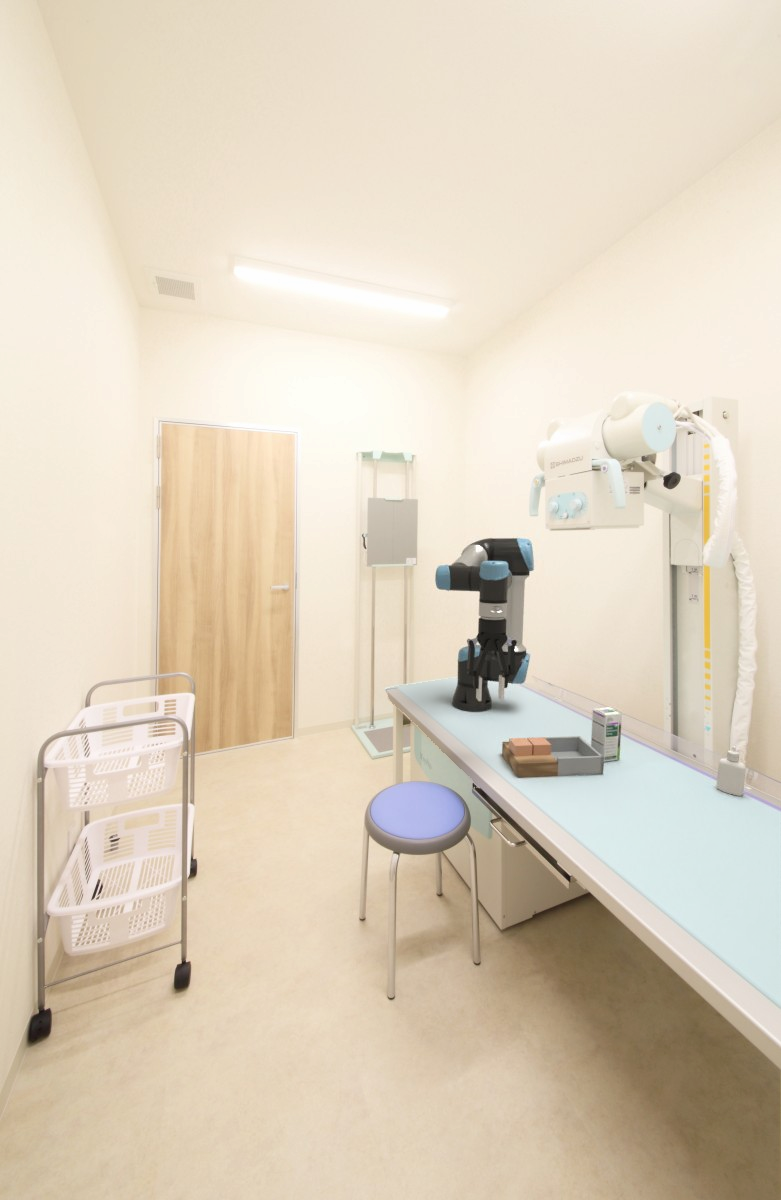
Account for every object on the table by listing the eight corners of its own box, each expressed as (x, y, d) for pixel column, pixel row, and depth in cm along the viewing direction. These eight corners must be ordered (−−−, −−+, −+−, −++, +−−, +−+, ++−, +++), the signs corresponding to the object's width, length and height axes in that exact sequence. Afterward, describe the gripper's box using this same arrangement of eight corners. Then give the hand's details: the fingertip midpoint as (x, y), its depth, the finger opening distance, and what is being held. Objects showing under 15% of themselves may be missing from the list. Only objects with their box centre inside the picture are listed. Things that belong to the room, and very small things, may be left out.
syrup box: (603, 762, 137) (606, 714, 135) (589, 753, 143) (592, 707, 141) (619, 760, 139) (623, 712, 137) (605, 751, 144) (608, 706, 142)
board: (502, 754, 142) (502, 741, 142) (537, 753, 143) (538, 740, 142) (518, 777, 128) (519, 763, 128) (557, 776, 129) (558, 762, 129)
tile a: (508, 748, 137) (509, 738, 137) (525, 747, 138) (525, 737, 137) (514, 756, 132) (515, 745, 132) (532, 755, 133) (532, 745, 132)
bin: (537, 753, 143) (538, 737, 142) (578, 751, 144) (579, 736, 143) (557, 776, 129) (558, 758, 129) (603, 774, 130) (604, 757, 130)
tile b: (526, 747, 138) (527, 737, 137) (543, 747, 138) (543, 737, 138) (533, 755, 133) (533, 745, 132) (550, 754, 133) (551, 744, 133)
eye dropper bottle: (725, 784, 125) (729, 741, 124) (746, 795, 120) (751, 750, 118) (712, 786, 124) (717, 743, 122) (733, 798, 119) (738, 752, 117)
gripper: (462, 620, 125) (460, 704, 128) (530, 619, 126) (527, 702, 129) (455, 615, 132) (454, 695, 135) (520, 615, 134) (517, 694, 137)
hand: (489, 699), depth 132 cm, fingers open, 6 cm apart
